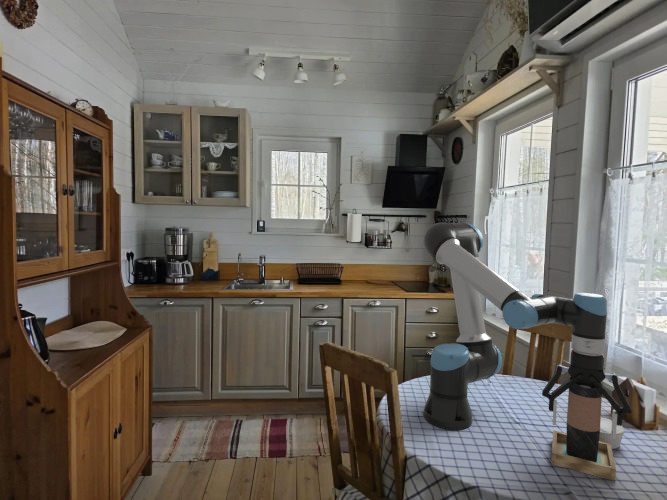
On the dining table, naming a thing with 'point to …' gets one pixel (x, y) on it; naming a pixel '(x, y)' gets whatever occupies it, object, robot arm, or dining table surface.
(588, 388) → the travel mug
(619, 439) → the ramekin
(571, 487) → the dining table surface
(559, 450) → the tray
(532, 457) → the dining table surface
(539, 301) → the robot arm
